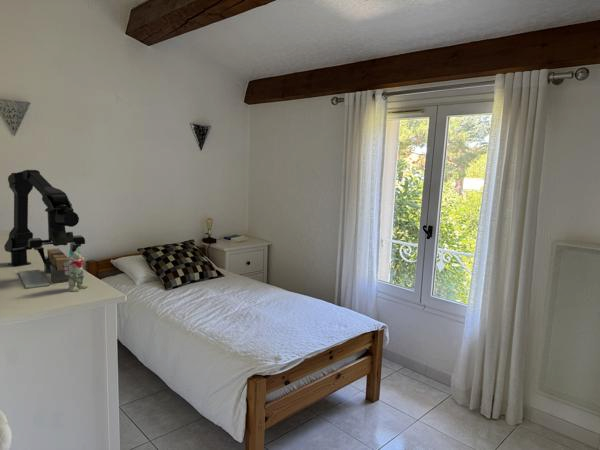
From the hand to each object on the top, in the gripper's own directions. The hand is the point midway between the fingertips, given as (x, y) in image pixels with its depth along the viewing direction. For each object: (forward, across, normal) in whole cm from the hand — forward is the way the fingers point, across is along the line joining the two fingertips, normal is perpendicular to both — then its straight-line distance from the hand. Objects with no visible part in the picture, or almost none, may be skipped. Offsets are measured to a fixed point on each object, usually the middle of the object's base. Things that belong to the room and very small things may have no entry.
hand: (58, 262), depth 160 cm
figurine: (+6, +2, -21) cm, 22 cm away
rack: (+5, 0, 0) cm, 5 cm away
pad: (+5, -8, 0) cm, 10 cm away
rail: (0, 0, 0) cm, 0 cm away
